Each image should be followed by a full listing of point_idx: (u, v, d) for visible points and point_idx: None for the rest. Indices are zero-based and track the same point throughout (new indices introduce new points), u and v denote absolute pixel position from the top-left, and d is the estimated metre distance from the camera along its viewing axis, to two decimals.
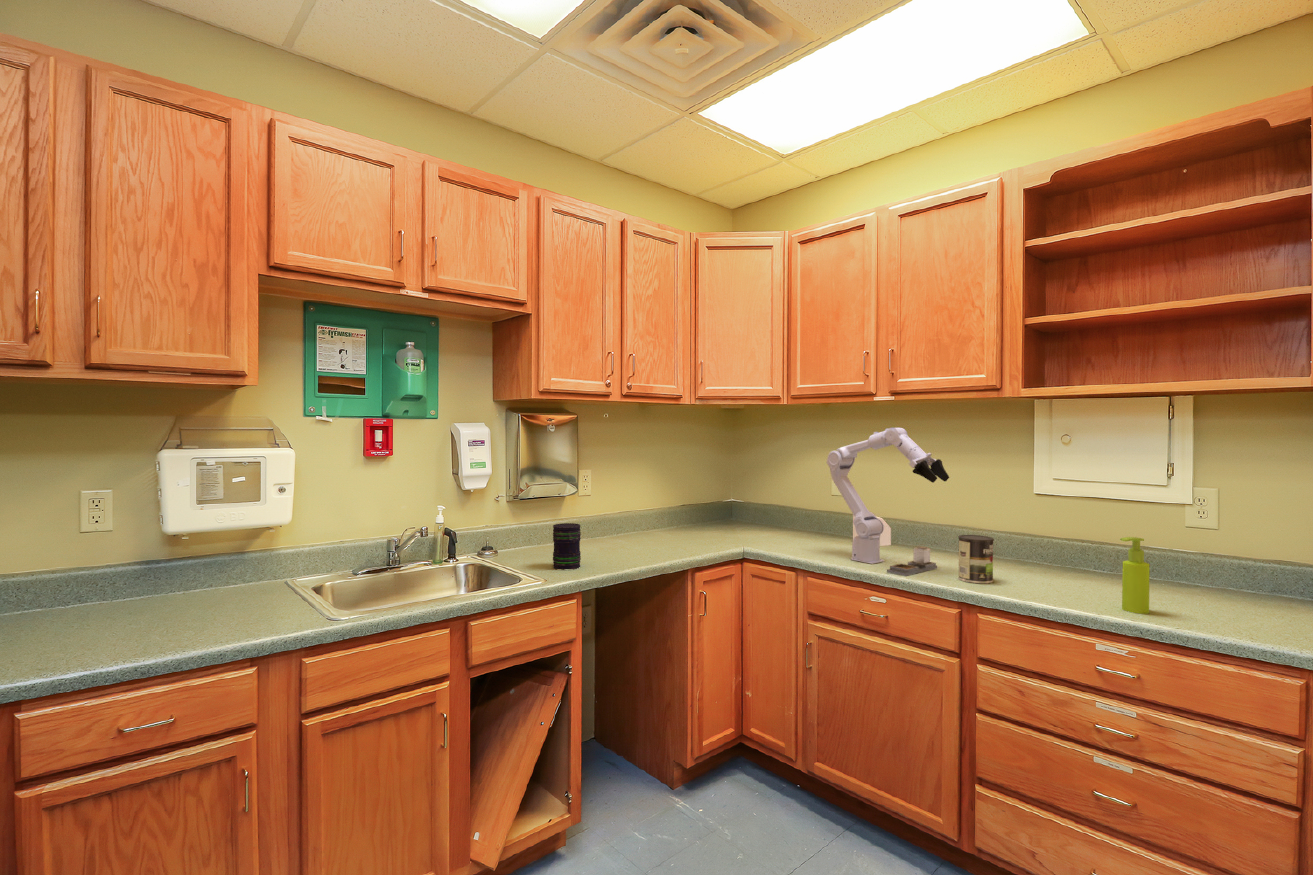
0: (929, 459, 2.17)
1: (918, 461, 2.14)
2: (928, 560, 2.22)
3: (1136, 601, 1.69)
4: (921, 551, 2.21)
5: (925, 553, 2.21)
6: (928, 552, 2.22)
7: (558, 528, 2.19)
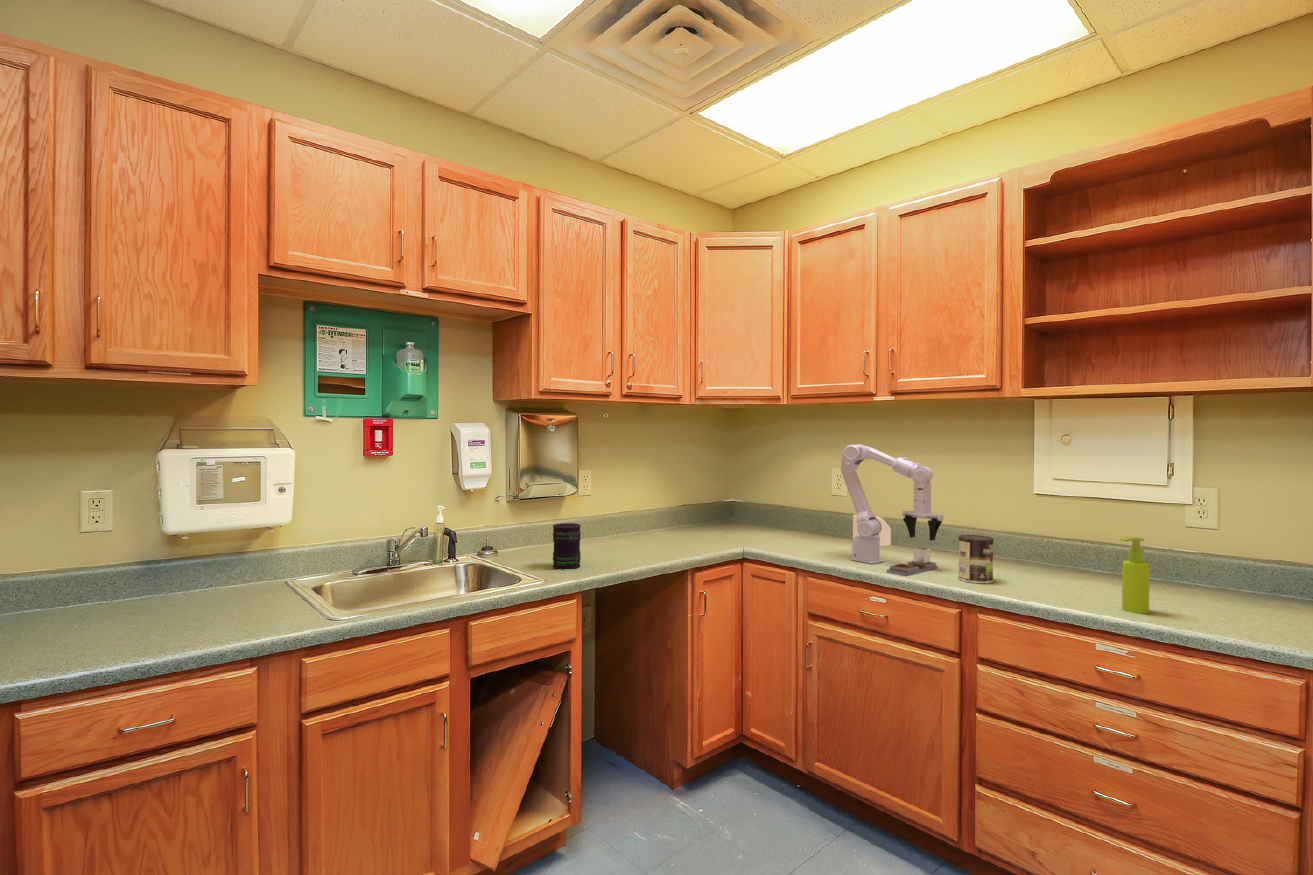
0: None
1: None
2: (928, 560, 2.22)
3: (1136, 601, 1.69)
4: (921, 551, 2.21)
5: (925, 553, 2.21)
6: (928, 552, 2.22)
7: (558, 528, 2.19)
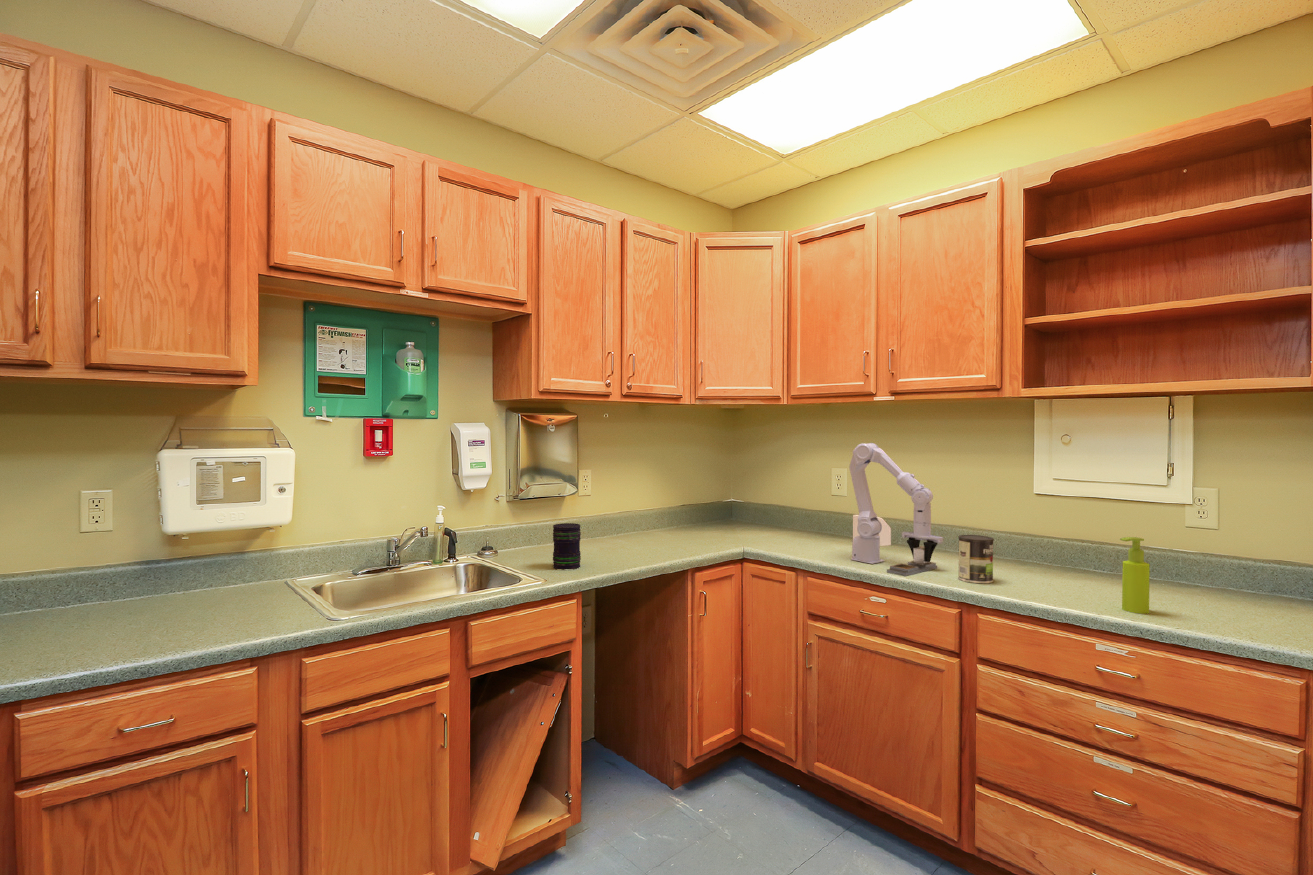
0: None
1: None
2: None
3: (1136, 601, 1.69)
4: (921, 551, 2.21)
5: None
6: None
7: (558, 528, 2.19)
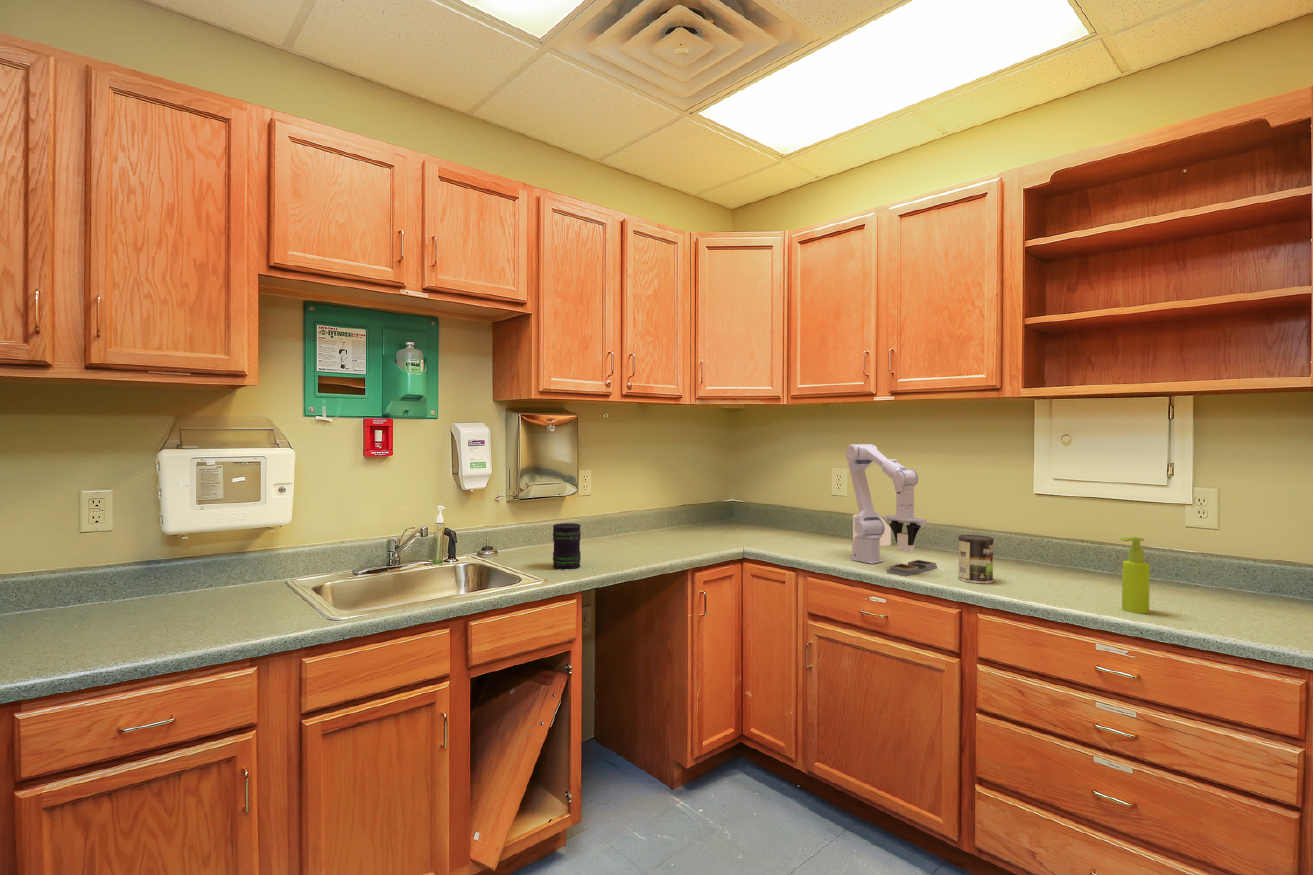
0: None
1: None
2: (912, 545, 2.16)
3: (1136, 601, 1.69)
4: (905, 536, 2.15)
5: None
6: None
7: (558, 528, 2.19)
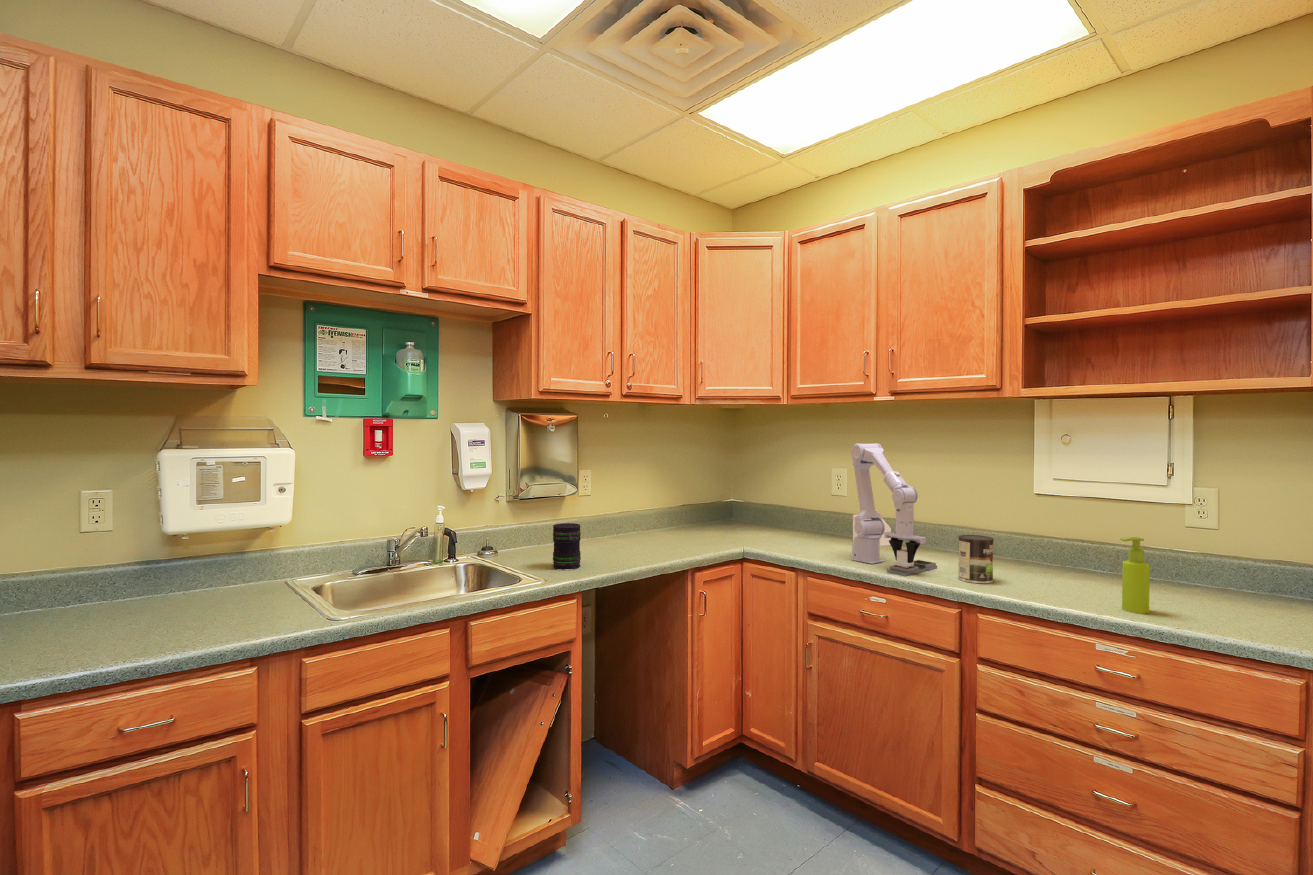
0: None
1: None
2: (911, 563, 2.16)
3: (1136, 601, 1.69)
4: (905, 553, 2.15)
5: None
6: None
7: (558, 528, 2.19)
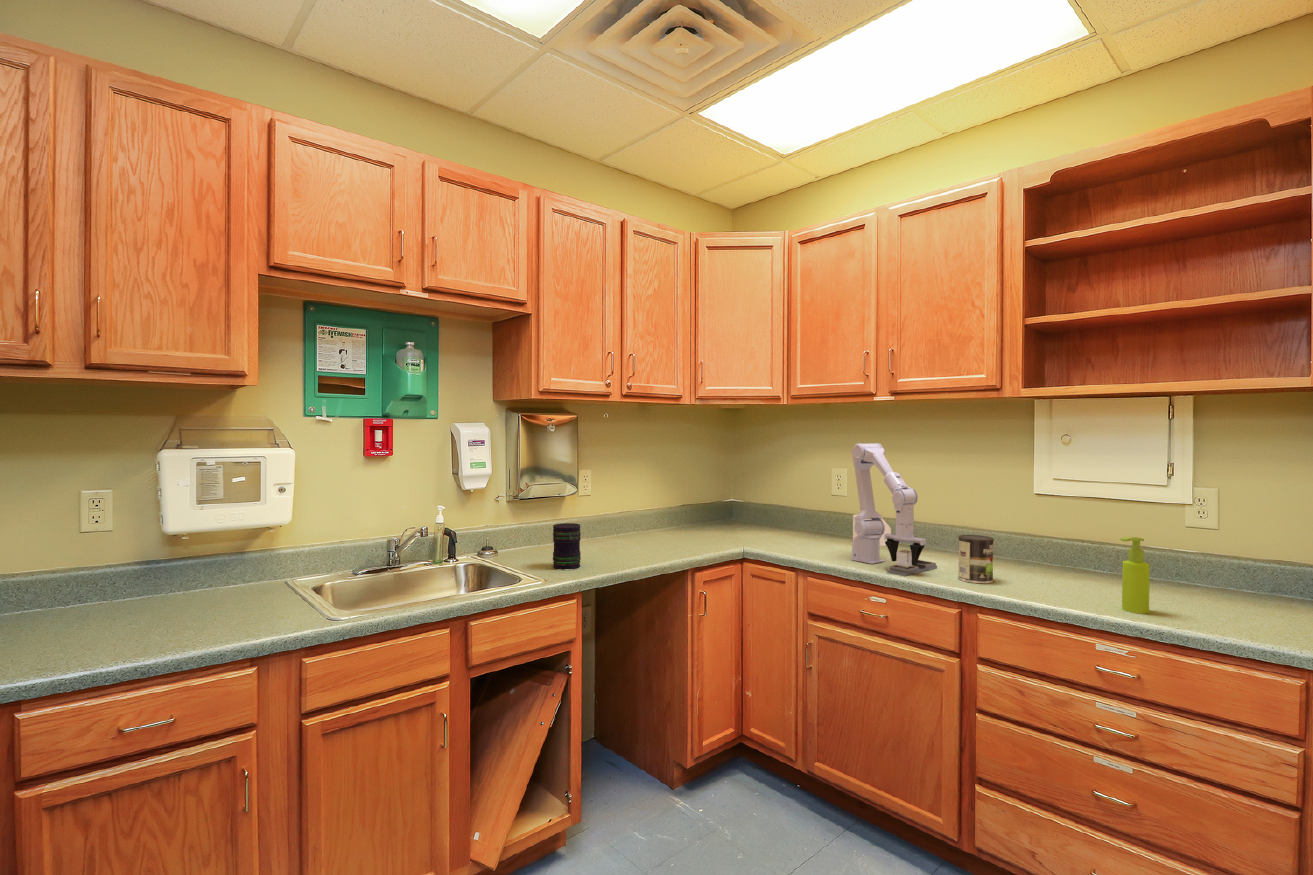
0: None
1: None
2: (911, 563, 2.16)
3: (1136, 601, 1.69)
4: (904, 554, 2.14)
5: (908, 556, 2.14)
6: (911, 555, 2.15)
7: (558, 528, 2.19)
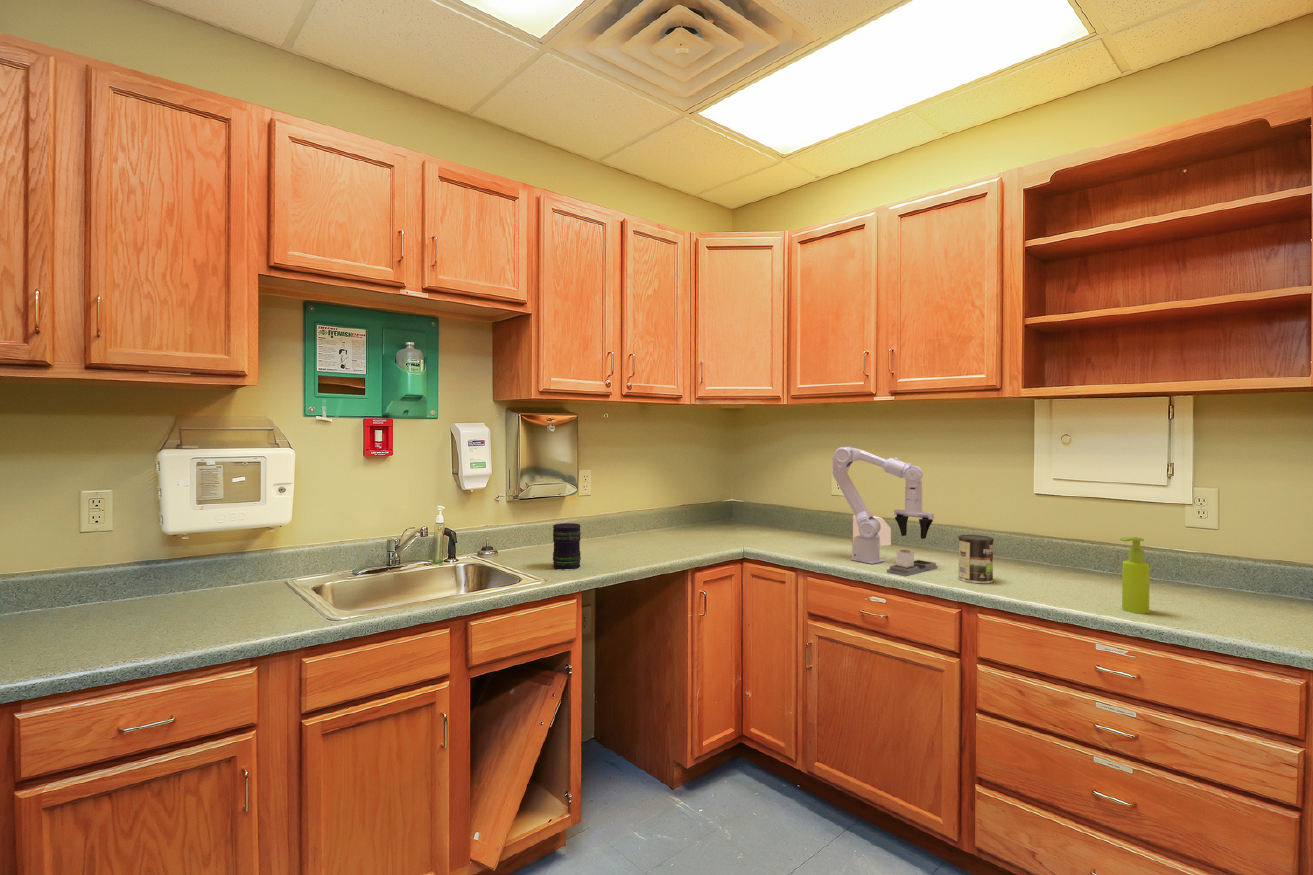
0: None
1: None
2: (911, 563, 2.16)
3: (1136, 601, 1.69)
4: (904, 554, 2.14)
5: (908, 556, 2.14)
6: (911, 555, 2.15)
7: (558, 528, 2.19)
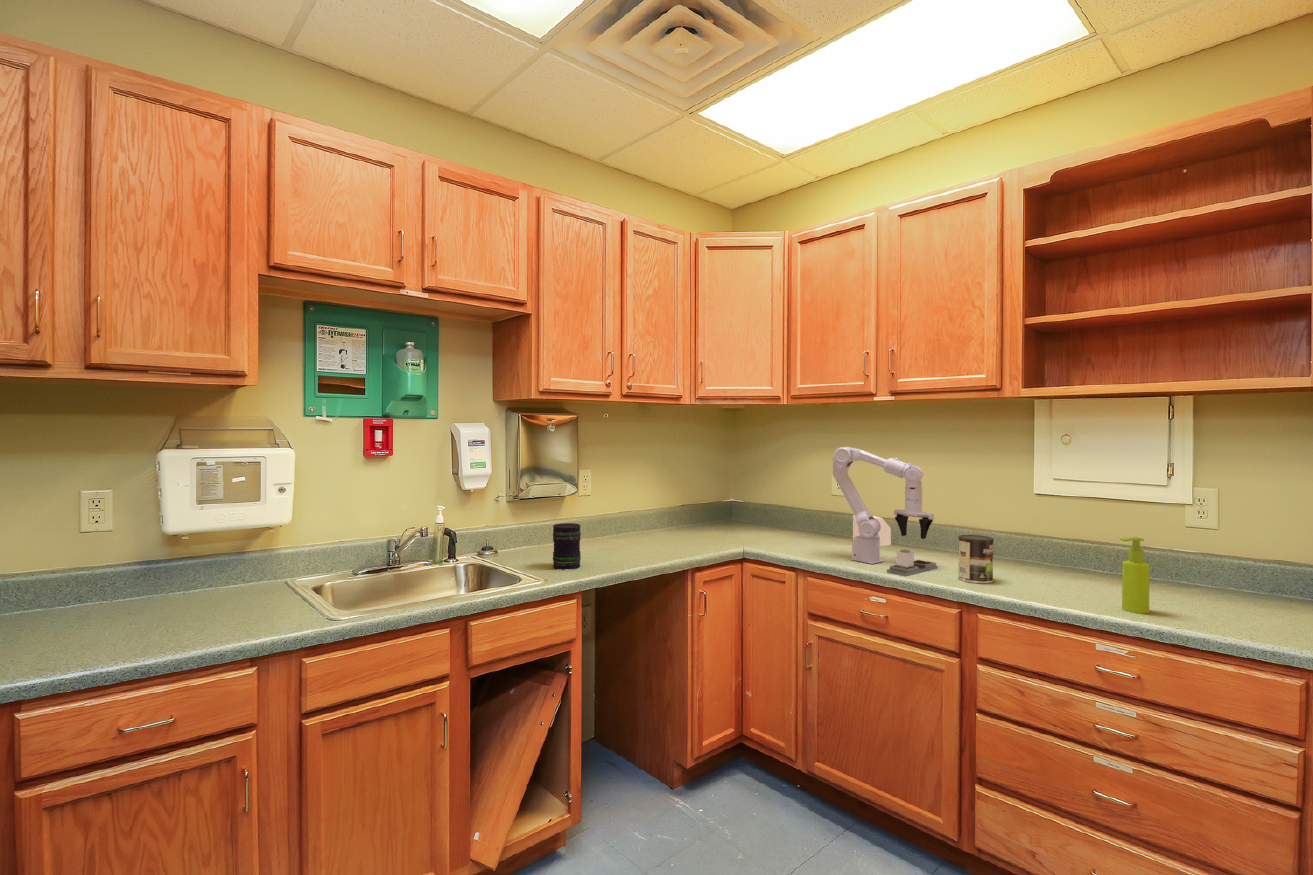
0: None
1: None
2: (911, 563, 2.16)
3: (1136, 601, 1.69)
4: (904, 554, 2.14)
5: (908, 556, 2.14)
6: (911, 555, 2.15)
7: (558, 528, 2.19)
